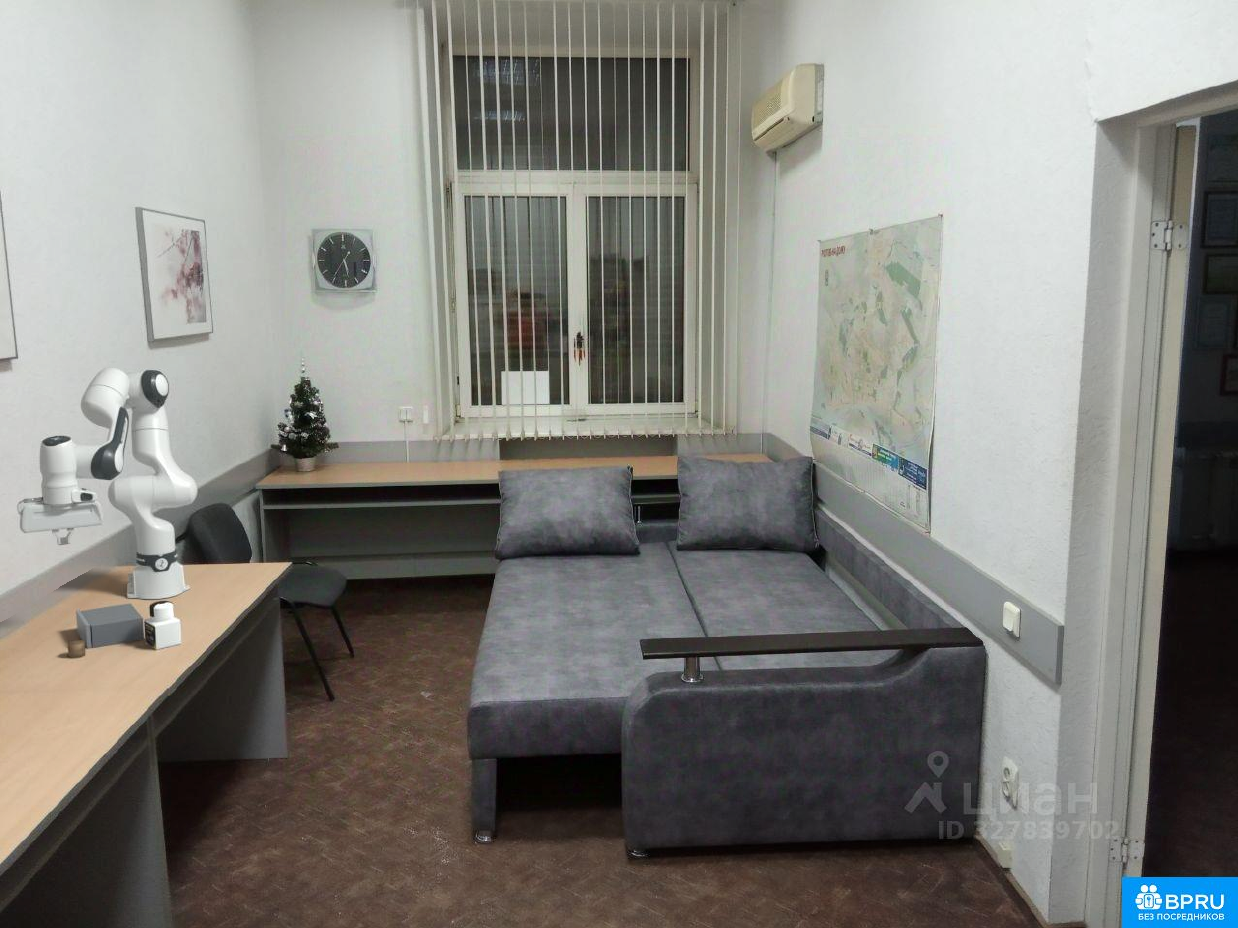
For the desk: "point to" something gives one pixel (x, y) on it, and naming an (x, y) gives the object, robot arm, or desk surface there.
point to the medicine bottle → (162, 626)
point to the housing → (114, 625)
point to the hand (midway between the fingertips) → (63, 544)
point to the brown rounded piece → (76, 649)
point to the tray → (83, 629)
